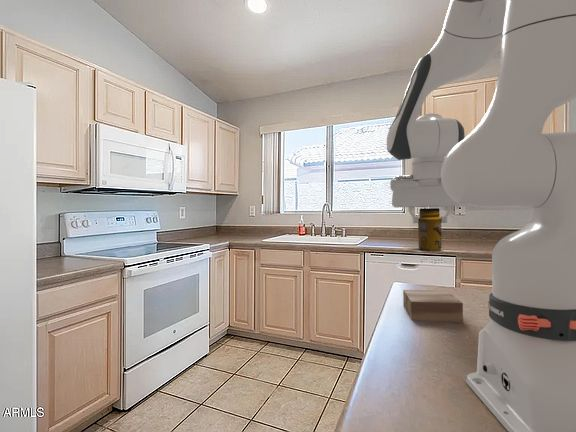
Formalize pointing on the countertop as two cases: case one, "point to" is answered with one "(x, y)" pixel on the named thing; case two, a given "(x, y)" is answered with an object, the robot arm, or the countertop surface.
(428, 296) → the walnut block
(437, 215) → the condiment
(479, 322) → the countertop surface
